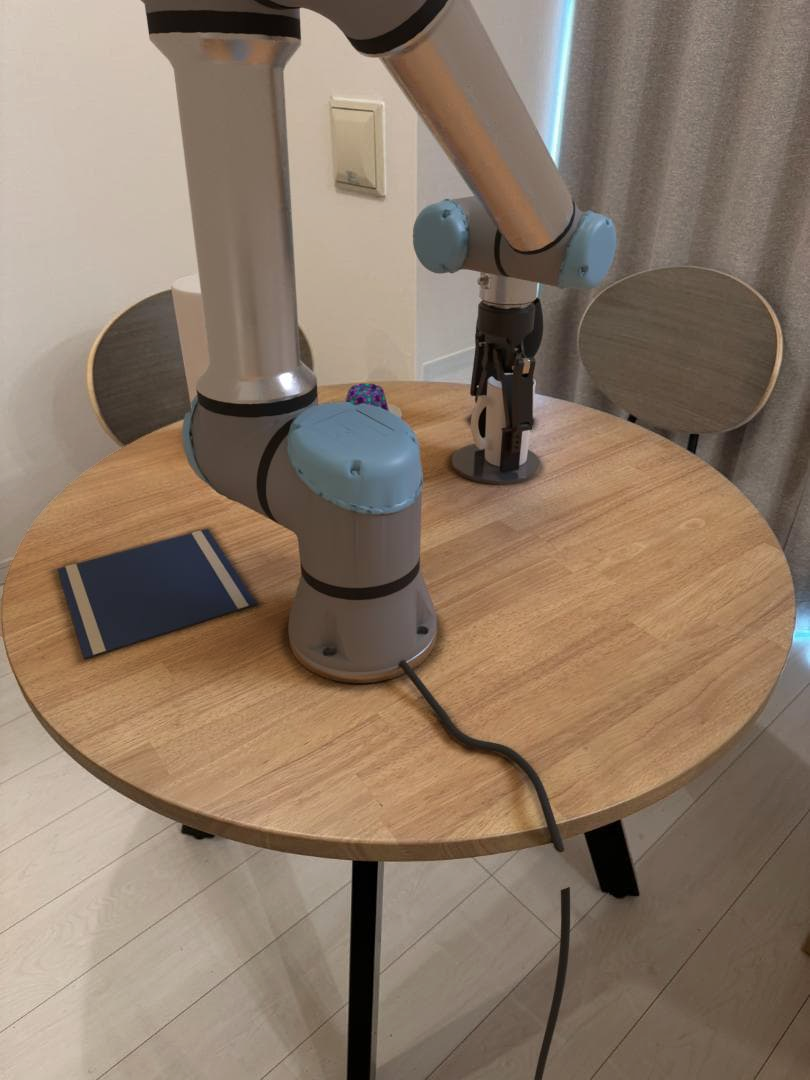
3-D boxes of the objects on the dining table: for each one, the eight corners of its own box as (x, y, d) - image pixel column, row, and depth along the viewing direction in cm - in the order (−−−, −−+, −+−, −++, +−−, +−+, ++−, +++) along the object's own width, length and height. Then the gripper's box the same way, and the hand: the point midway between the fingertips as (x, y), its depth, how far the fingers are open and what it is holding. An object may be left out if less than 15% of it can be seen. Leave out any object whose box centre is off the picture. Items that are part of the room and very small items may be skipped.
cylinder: (211, 471, 108) (183, 297, 94) (189, 440, 117) (161, 277, 104) (291, 453, 113) (275, 285, 99) (264, 425, 122) (246, 267, 109)
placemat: (256, 604, 81) (256, 602, 81) (84, 659, 73) (83, 657, 73) (207, 530, 94) (207, 528, 94) (57, 570, 86) (57, 568, 86)
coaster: (555, 476, 106) (556, 472, 106) (473, 490, 103) (473, 486, 102) (514, 440, 117) (515, 436, 116) (438, 452, 113) (438, 449, 113)
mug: (509, 445, 114) (516, 370, 107) (537, 461, 109) (546, 384, 103) (456, 460, 109) (458, 382, 103) (482, 478, 105) (487, 398, 98)
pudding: (392, 436, 118) (392, 405, 115) (321, 429, 121) (319, 398, 118) (409, 408, 128) (409, 379, 125) (343, 402, 130) (342, 373, 128)
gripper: (450, 285, 104) (446, 434, 116) (517, 325, 88) (504, 493, 100) (498, 281, 106) (489, 427, 119) (572, 319, 90) (553, 484, 102)
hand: (496, 457), depth 109 cm, fingers open, 8 cm apart
